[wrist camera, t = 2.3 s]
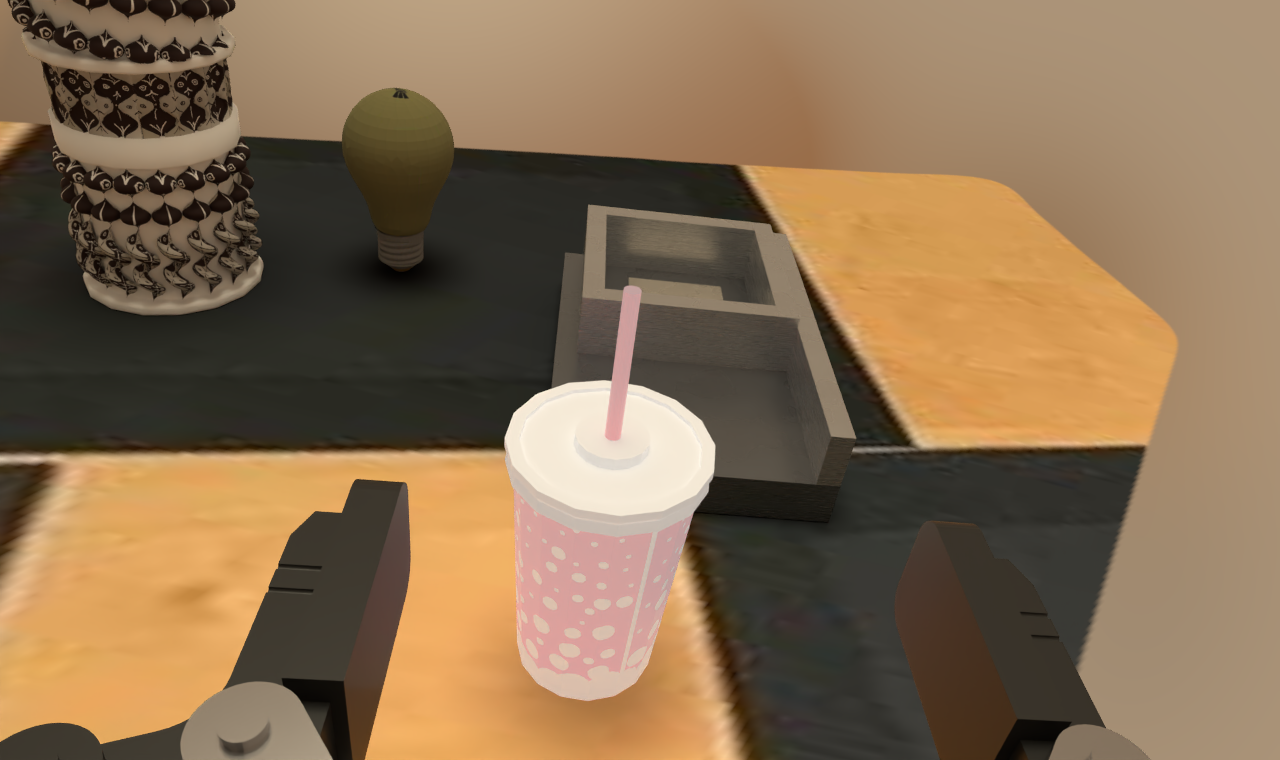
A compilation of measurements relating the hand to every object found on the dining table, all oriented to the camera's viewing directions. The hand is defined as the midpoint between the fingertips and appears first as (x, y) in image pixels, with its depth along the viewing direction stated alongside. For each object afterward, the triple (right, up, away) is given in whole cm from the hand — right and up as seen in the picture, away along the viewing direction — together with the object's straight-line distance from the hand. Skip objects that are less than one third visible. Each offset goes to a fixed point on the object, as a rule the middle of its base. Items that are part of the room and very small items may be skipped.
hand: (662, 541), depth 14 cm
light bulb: (-14, +9, +37) cm, 40 cm away
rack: (+1, +2, +31) cm, 31 cm away
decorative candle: (-25, +8, +33) cm, 42 cm away
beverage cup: (-2, -7, +17) cm, 19 cm away
